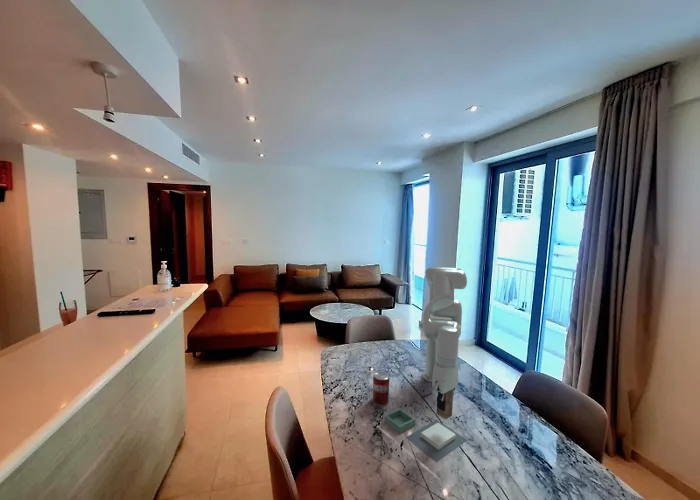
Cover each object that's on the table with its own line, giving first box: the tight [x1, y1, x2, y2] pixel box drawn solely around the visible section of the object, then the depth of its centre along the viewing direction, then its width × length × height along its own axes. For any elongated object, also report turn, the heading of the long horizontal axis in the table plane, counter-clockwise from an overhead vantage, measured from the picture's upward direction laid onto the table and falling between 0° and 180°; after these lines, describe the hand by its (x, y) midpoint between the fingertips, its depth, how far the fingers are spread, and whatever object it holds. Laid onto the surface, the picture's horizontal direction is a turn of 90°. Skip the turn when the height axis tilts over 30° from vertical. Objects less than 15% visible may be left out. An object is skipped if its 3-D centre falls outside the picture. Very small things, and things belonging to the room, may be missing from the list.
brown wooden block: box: [436, 389, 454, 421], centre depth 110 cm, size 4×4×12 cm
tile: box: [421, 423, 456, 450], centre depth 109 cm, size 2×8×10 cm
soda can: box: [372, 372, 390, 407], centre depth 132 cm, size 7×7×12 cm
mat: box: [405, 419, 468, 463], centre depth 109 cm, size 18×14×1 cm
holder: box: [384, 407, 416, 434], centre depth 117 cm, size 9×9×3 cm
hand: (444, 406), depth 110 cm, fingers closed on brown wooden block, 4 cm apart
